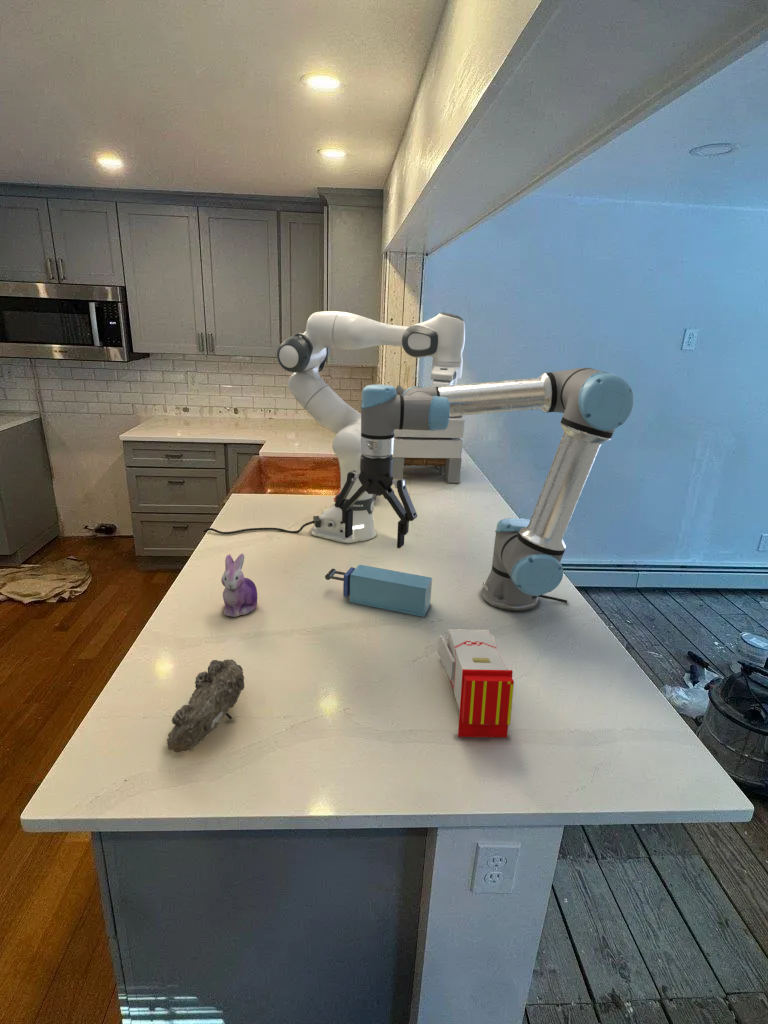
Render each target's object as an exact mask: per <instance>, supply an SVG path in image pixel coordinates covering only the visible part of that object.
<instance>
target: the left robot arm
mask: <svg viewBox="0 0 768 1024" xmlns="http://www.w3.org/2000/svg"><path fill="white" fill-rule="evenodd" d="M465 341H466V323H465V320H464V319H463V318H462V317H461V316H460V315H458V314H454V313H450V312H449V313H448V312H439V313H438V314H436V315H435V316H434V317H432V318H429V319H428V320H425V321H422V322H419V323H415V324H411V325H409V326H407V325H398V324H391V323H390V324H389V323H384V322H381V321H378V320H375V319H371V318H369V317H366V316H364V315H363V316H362V315H359V314H356V313H352V312H347V311H337V310H323V311H315V312H313V313H312V314H310V315H309V317H308V319H307V321H306V326H305V331H304V332H303V333H301V332H297V333H295V334H293V335H292V336H289V337H287V338H286V339H284V340H283V341H282V342H281V343H280V344H279V345H278V347H277V350H276V358H277V362H278V364H279V365H280V366H281V368H282V369H283V370H286V371H287V372H290V373H291V375H290V376H289V377H288V381H287V388H288V390H289V391H290V393H291V394H292V396H293V397H294V398H295V400H296V401H297V403H298V404H299V405H300V406H301V407H302V408H303V409H304V410H305V412H307V413H308V414H309V415H310V416H311V417H312V419H314V420H315V421H316V423H318V424H319V426H320V427H322V428H324V429H327V430H328V431H331V432H332V433H334V434H336V435H335V436H334V438H333V440H332V451H333V453H334V455H335V456H336V457H337V462H338V466H339V473H340V490H339V491H338V492H337V494H336V495H335V496H334V497H333V502H334V504H333V505H331V506H329V507H328V508H326V509H325V510H323V512H321V514H320V515H313V516H312V517H313V519H312V520H311V521H308V522H306V523H303V524H302V525H301V526H300V528H299V529H298V530H288V529H284V528H281V527H250V528H249V527H248V528H244V529H243V528H242V529H238V530H232V531H221V530H218V529H216V528H213V527H208V528H207V527H206V528H205V529H204V530H203V533H207V532H208V531H211V532H215V533H217V534H220V535H232V534H238V533H244V532H252V531H278V532H283V533H290V534H298V533H300V532H302V531H303V529H304V528H305V527H307V526H309V525H312V524H313V526H312V528H311V530H310V533H311V536H315V537H319V538H323V539H326V540H330V541H336V542H339V543H343V544H352V543H357V542H365V541H368V540H372V539H373V538H375V537H376V535H377V532H376V528H375V523H374V513H373V512H374V509H375V499H374V496H373V494H368V493H367V492H364V493H363V495H362V496H361V497H360V498H359V499H358V500H357V501H356V502H355V503H354V504H353V505H352V506H351V507H350V508H349V509H353V534H352V535H351V536H350V537H348V538H345V523H343V522H342V510H341V509H340V508H337V507H335V503H336V501H337V499H338V497H339V495H340V493H341V491H342V489H343V487H344V485H345V483H346V481H347V474H348V473H349V472H351V471H353V470H355V471H356V473H360V456H361V455H362V453H361V412H359V411H357V410H356V409H355V408H353V407H352V406H351V405H349V404H348V403H347V402H345V400H343V399H342V397H340V396H339V395H338V393H336V392H335V390H333V389H332V388H331V386H329V385H328V383H326V382H325V380H324V379H323V378H322V377H321V375H320V374H319V372H322V371H323V370H324V368H325V365H326V362H327V361H328V359H329V357H330V353H331V349H338V350H347V351H348V350H349V351H350V350H351V351H353V350H362V349H366V348H367V349H368V348H372V347H379V346H392V347H399V348H402V349H403V350H404V352H405V353H406V355H408V356H410V357H413V358H416V359H421V358H427V357H432V365H431V372H430V380H432V385H431V387H438V386H448V385H457V382H458V380H460V379H462V373H463V364H464V363H463V362H464V359H463V352H464V348H465V344H466V343H465ZM361 486H362V484H361V483H360V481H359V479H357V480H356V481H355V483H354V485H353V486H352V488H351V490H350V492H349V494H348V496H347V498H346V500H345V502H344V503H346V502H347V501H348V500H349V499H350V498H351V497H352V496H353V495H354V494H355V493H356V492H357V490H358V489H359V488H360V487H361Z"/></svg>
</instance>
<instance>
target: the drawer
mask: <svg viewBox="0 0 768 1024" xmlns="http://www.w3.org/2000/svg"><path fill="white" fill-rule="evenodd" d="M355 569H356V567H353V566H351V567H350V568H349V569H348V570H347V571H346V572H344V571H338V570H337V569H336V568H334V567H333V568H331V569H330V570H329V571H328V572H327V573H326V574H325V575H324V579H325V580H326V581H330V580H331V579H332V580H335V581H341V582H343V589H342V591H343V593H342V597H344V598H348V597H350V574H351V573H352V572H353V571H354V570H355ZM335 575H341V576H343V577H339V576H335Z"/></svg>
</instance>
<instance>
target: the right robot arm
mask: <svg viewBox="0 0 768 1024" xmlns="http://www.w3.org/2000/svg"><path fill="white" fill-rule="evenodd" d="M396 388H397V387H396V386H393V385H390V384H368V385H366V386H364V387H363V388H362V390H361V403H360V404H361V405H360V414H361V453H362V455H361V456H360V473H356V471H355V470H353V471H351V472H349V473H348V474H347V481H346V483H345V485H344V487H343V489H342V491H341V490H340V491H341V493H340V495H339V497H338V499H337V501H336V503H335V502H334V504H335V507H337V508H340V509H341V510H342V522H343V523H345V538H348V537H350V536H351V535H352V534H353V509H349V508H350V507H351V506H352V505H353V504H354V503H355V502H356V501H357V500H358V499H359V498H360V497H361V496H362V495H363V493H364V492H367V493H368V494H375V495H377V496H379V497H380V496H382V497H383V498H384V499H385V500H387V502H388V503H389V505H390V506H391V508H392V509H393V511H394V513H395V514H396V515H397V517H398V518H399V519H400V520H399V521H398V522H397V538H396V549H399V550H400V549H401V548H402V547H404V546H405V536H406V535H407V534H408V533H409V527H410V522H413V521H414V520H416V519H417V518H418V513H417V511H416V508H415V506H414V503H413V501H412V499H411V496H410V493H409V490H408V489H407V480H406V478H405V477H402V478H401V479H394V478H393V476H392V472H393V457H392V454H393V453H394V430H395V429H399V430H402V429H403V430H429V431H436V430H445V429H446V428H447V427H448V424H449V418H450V417H451V416H462V417H463V416H472V415H473V416H474V415H486V414H495V413H496V414H497V413H498V414H499V413H509V412H521V411H522V412H523V411H532V410H540V411H542V412H543V413H546V414H548V413H560V414H562V417H561V420H560V422H559V424H560V426H561V429H562V432H563V433H562V437H561V439H560V441H559V444H558V447H557V450H556V452H555V454H554V456H553V459H552V462H551V465H550V467H549V470H548V473H547V475H546V478H545V481H544V483H543V486H542V489H541V490H540V493H539V496H538V499H537V502H536V504H535V506H534V509H533V513H532V515H531V518H530V519H528V518H519V517H509V518H508V517H507V518H502V519H500V520H499V521H497V524H496V530H495V532H494V533H495V537H494V544H493V545H494V546H493V554H492V564H491V569H490V572H489V574H488V576H487V578H486V580H485V582H484V581H482V592H481V597H482V599H483V600H484V601H485V602H487V604H489V605H491V606H492V607H495V608H497V609H500V610H503V611H507V612H508V611H509V612H526V611H530V610H532V609H534V608H535V607H536V606H537V605H538V602H539V598H542V599H545V600H551V601H556V602H560V603H564V604H568V599H563V598H559V597H554V596H550V595H546V594H548V593H551V592H552V591H554V590H555V589H557V587H559V586H560V584H561V582H562V580H563V576H564V569H563V568H564V567H563V565H562V563H561V561H562V559H563V556H564V554H565V551H566V549H567V545H566V543H565V540H564V536H565V534H566V531H567V529H568V526H569V524H570V521H571V519H572V516H573V514H574V511H575V509H576V507H577V504H578V501H579V499H580V496H581V495H582V492H583V489H584V487H585V485H586V482H587V479H588V477H589V475H590V472H591V470H592V467H593V464H594V463H595V460H596V458H597V455H598V453H599V450H600V448H601V446H602V445H603V444H604V443H606V442H609V441H611V440H612V437H613V435H614V432H615V430H616V429H618V428H619V427H621V426H623V425H624V424H625V423H627V421H628V420H629V418H630V417H631V415H632V413H633V409H634V405H635V396H634V392H633V390H632V388H631V385H630V384H629V383H628V382H627V381H626V380H625V379H624V378H622V377H621V376H619V375H617V374H615V373H613V372H609V371H603V370H599V369H595V368H592V367H578V368H570V369H564V370H558V371H551V372H550V371H549V372H543V373H541V374H540V376H539V377H531V378H519V379H507V380H496V381H486V382H485V381H484V382H473V383H472V382H471V383H460V384H456V385H448V386H438V387H432V386H428V387H423V386H420V385H415V386H414V385H413V386H410V387H408V388H407V389H405V390H406V391H405V392H404V393H403V395H397V393H396ZM357 479H359V481H360V483H361V484H362V486H361V487H360V488H359V489H358V490H357V492H356V493H355V494H354V495H353V496H352V497H351V498H350V499H349V500H348V501H347V502H346V503H344V502H345V500H346V498H347V496H348V494H349V492H350V490H351V488H352V486H353V485H354V483H355V481H356V480H357ZM393 485H394V488H395V489H396V491H397V493H398V496H399V498H400V499H399V498H398V496H397V495H396V493H395V491H394V489H393V487H392V486H393Z"/></svg>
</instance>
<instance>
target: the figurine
mask: <svg viewBox="0 0 768 1024" xmlns="http://www.w3.org/2000/svg"><path fill="white" fill-rule="evenodd" d="M244 563H245V554H244V553H240V554H239V555H238V556H237V558H236V559H235V560H234V558H233V557H232V555H231V554H227V555H226V556H225V560H224V564H225V565H224V566H225V567H224V568H225V570H224V572H223V574H222V576H221V579H220V580H221V584H222V586H223V587H224V589H223V591H222V599H223V603H224V611H223V613H224V615H225V616H228V617H234V618H236V617H239V616H245V615H248V614H249V613H251V612H253V611H254V610H256V609H257V606H258V590H257V589H258V588H257V586H256V584H255V583H254V581H253V580H252V579H250V578H248V577H245V575H244V573H243V571H242V569H243V566H244Z"/></svg>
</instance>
